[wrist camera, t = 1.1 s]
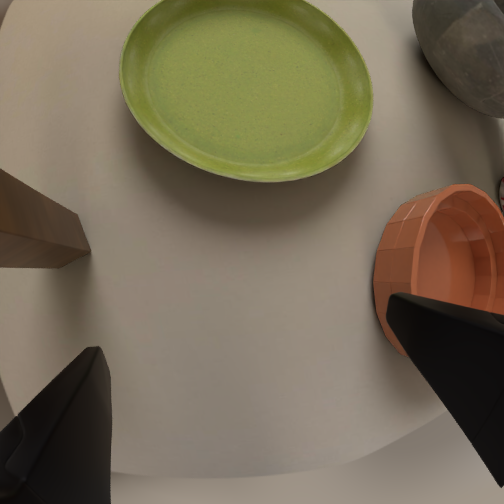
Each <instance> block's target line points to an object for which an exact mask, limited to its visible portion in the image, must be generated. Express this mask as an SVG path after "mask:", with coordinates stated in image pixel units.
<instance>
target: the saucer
mask: <svg viewBox="0 0 504 504" xmlns="http://www.w3.org/2000/svg"><path fill="white" fill-rule="evenodd" d="M119 79H120V85H121V89H122V93H123V96H124V99H125V101H126V104H127V106H128V108H129V110H130V112H131V113H132V115H133V116H134V118H135V119H136V121H137V122H138V123H139V125H140V126H141V127H142V128H143V129H144V131H145V132H146V133H147V134H148V135H149V136H150V137H151V138H152V139H153V140H154V141H156V142H157V143H158V144H159V145H160V146H162V147H163V148H164V149H166V150H167V151H169V152H170V153H172V154H173V155H174V156H176V157H178V158H179V159H181V160H183V161H185V162H187V163H189V164H191V165H193V166H195V167H197V168H200V169H202V170H205V171H207V172H210V173H213V174H217V175H220V176H224V177H227V178H232V179H237V180H244V181H251V182H265V183H267V182H286V181H293V180H298V179H303V178H307V177H310V176H313V175H316V174H319V173H321V172H323V171H326V170H328V169H329V168H331V167H333V166H335V165H336V164H338V163H339V162H341V161H342V160H343V159H345V158H346V157H347V156H348V155H349V154H350V153H351V152H352V151H353V150H354V149H355V148H356V146H357V145H358V144H359V143H360V141H361V140H362V138H363V137H364V135H365V133H366V131H367V128H368V126H369V123H370V120H371V116H372V110H373V87H372V82H371V78H370V74H369V71H368V68H367V66H366V63H365V61H364V59H363V57H362V55H361V53H360V51H359V50H358V48H357V47H356V45H355V43H354V42H353V41H352V39H351V38H350V37H349V36H348V34H347V33H346V32H345V31H344V30H343V29H342V28H341V27H340V26H339V25H338V24H337V23H336V22H335V21H334V20H333V19H332V18H331V17H329V16H328V15H327V14H326V13H324V12H323V11H322V10H320V9H319V8H317V7H316V6H314V5H312V4H310V3H309V2H307V1H305V0H161V1H159V2H158V3H156V4H155V5H154V6H152V7H151V8H150V9H149V10H147V11H146V12H145V13H144V14H143V15H142V16H141V17H140V19H139V20H138V21H137V22H136V23H135V25H134V26H133V28H132V29H131V31H130V32H129V34H128V36H127V38H126V40H125V42H124V45H123V48H122V52H121V56H120V63H119Z"/></svg>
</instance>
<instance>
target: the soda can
mask: <svg viewBox="0 0 504 504" xmlns="http://www.w3.org/2000/svg"><path fill="white" fill-rule="evenodd" d="M499 199H500V204H501V208H502V210H503V213H504V177H503V178H502V181H501V185H500V189H499Z"/></svg>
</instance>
